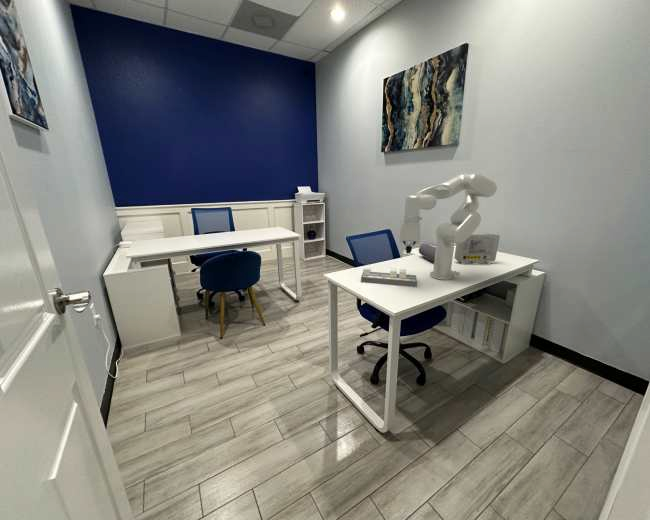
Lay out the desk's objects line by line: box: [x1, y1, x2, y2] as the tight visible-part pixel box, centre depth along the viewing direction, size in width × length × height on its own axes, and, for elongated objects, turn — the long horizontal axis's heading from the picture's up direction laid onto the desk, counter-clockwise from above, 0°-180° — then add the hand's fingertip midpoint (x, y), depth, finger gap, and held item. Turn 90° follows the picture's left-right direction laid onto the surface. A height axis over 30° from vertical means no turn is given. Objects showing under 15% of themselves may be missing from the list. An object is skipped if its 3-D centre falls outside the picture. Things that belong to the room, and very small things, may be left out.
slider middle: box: [389, 268, 398, 278], centre depth 156 cm, size 4×5×4 cm
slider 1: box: [362, 265, 371, 275], centre depth 160 cm, size 4×5×4 cm
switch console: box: [360, 271, 418, 288], centre depth 158 cm, size 30×10×3 cm, turn 76°
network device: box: [453, 233, 501, 266], centre depth 185 cm, size 26×9×20 cm, turn 88°
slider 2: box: [398, 268, 407, 278], centre depth 155 cm, size 4×5×4 cm
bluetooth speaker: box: [418, 243, 436, 264], centre depth 192 cm, size 23×9×10 cm, turn 13°
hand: (408, 252), depth 151 cm, fingers closed
